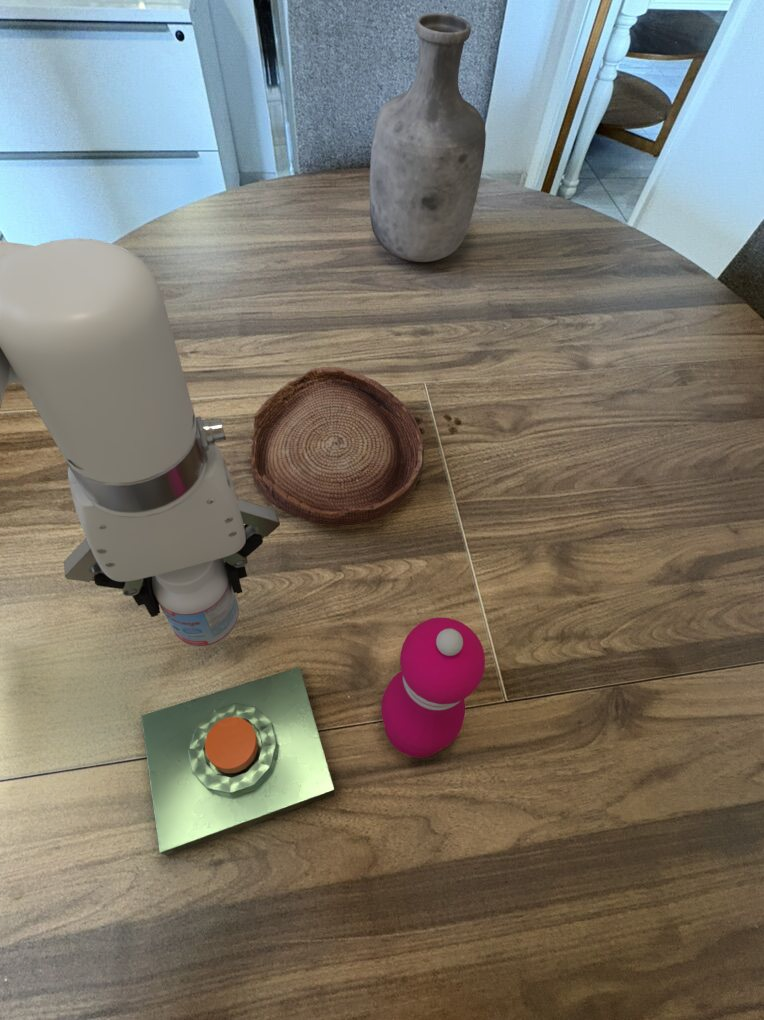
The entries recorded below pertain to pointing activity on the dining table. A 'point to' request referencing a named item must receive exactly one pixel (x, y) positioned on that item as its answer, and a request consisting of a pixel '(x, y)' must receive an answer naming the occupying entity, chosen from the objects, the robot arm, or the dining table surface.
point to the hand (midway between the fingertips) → (194, 588)
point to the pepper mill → (432, 686)
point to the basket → (335, 448)
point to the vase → (427, 151)
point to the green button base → (246, 794)
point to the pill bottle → (198, 603)
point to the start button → (231, 745)
